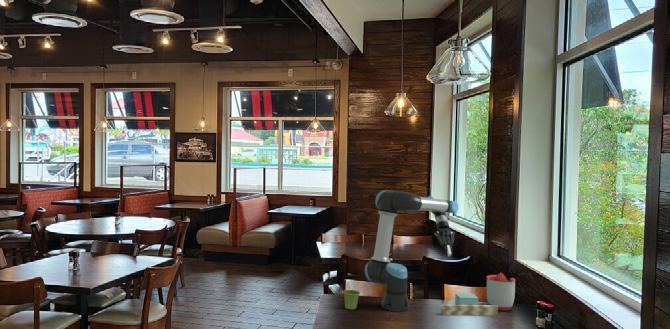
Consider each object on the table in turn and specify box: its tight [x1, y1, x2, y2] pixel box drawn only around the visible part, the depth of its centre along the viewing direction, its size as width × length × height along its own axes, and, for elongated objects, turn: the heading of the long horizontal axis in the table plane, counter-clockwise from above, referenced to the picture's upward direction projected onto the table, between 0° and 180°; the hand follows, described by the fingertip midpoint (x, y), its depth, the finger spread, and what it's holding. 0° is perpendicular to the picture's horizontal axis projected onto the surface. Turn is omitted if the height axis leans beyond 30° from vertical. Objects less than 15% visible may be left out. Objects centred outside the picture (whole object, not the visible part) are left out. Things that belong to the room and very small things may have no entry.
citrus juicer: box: [486, 272, 516, 312], centre depth 256 cm, size 16×17×20 cm
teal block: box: [454, 292, 479, 305], centre depth 246 cm, size 10×8×9 cm
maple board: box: [440, 304, 499, 317], centre depth 241 cm, size 30×2×5 cm, turn 93°
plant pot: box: [342, 289, 361, 310], centre depth 246 cm, size 9×9×9 cm
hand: (449, 255), depth 271 cm, fingers closed
